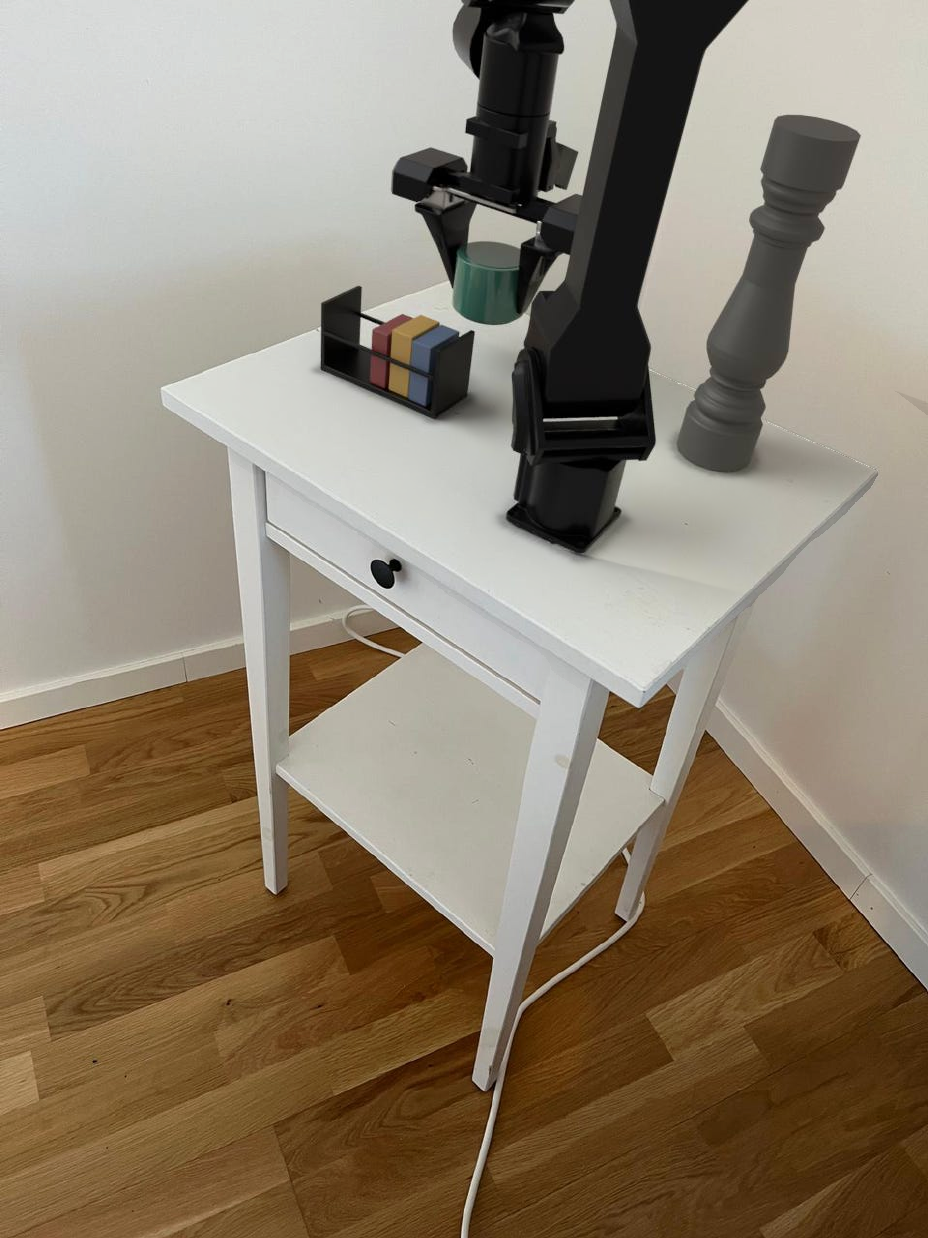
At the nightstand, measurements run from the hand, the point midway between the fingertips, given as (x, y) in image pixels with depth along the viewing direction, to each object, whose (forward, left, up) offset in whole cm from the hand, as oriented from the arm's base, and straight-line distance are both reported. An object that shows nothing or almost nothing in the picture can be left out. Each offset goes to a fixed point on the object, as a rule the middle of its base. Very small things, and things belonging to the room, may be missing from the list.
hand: (489, 300), depth 86 cm
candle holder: (-23, 0, -6) cm, 24 cm away
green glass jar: (0, 0, -1) cm, 1 cm away
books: (+1, +9, -5) cm, 11 cm away
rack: (+3, +9, -6) cm, 11 cm away
